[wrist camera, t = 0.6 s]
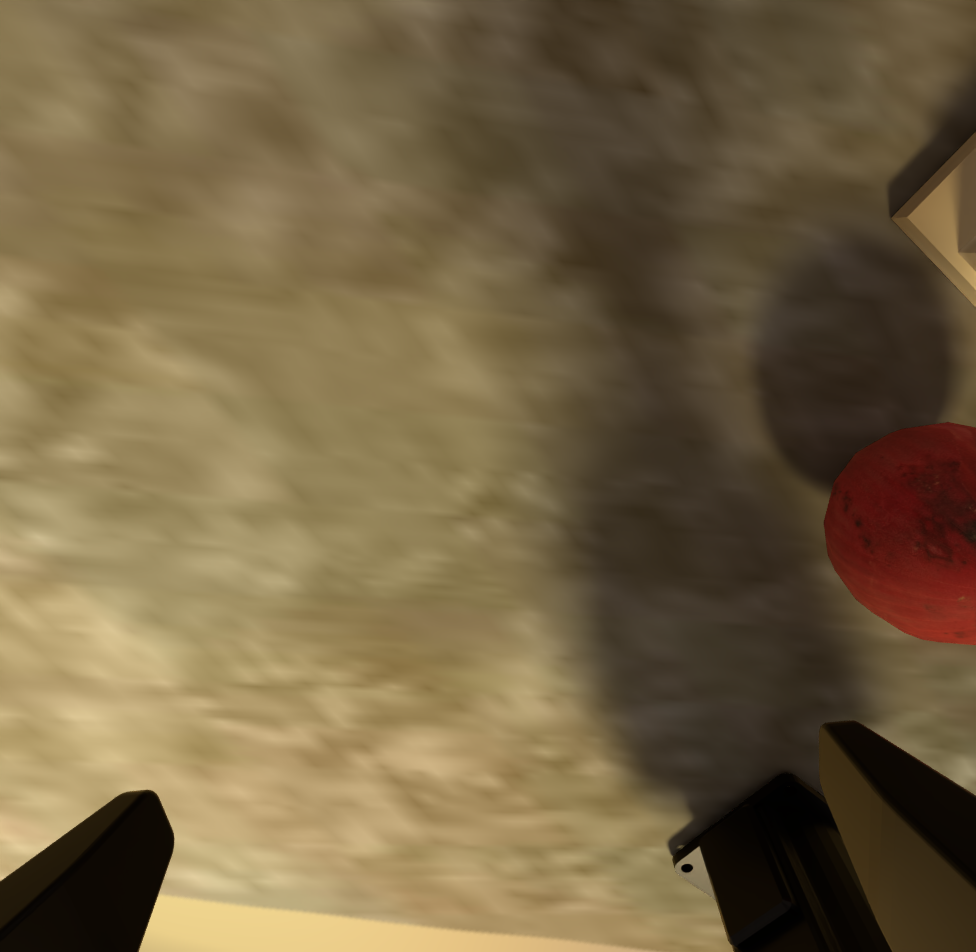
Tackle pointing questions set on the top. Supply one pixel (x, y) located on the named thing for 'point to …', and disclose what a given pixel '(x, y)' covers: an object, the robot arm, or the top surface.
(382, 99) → the top surface
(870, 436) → the top surface
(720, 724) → the top surface
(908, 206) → the tray
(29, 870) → the robot arm
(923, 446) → the onion
